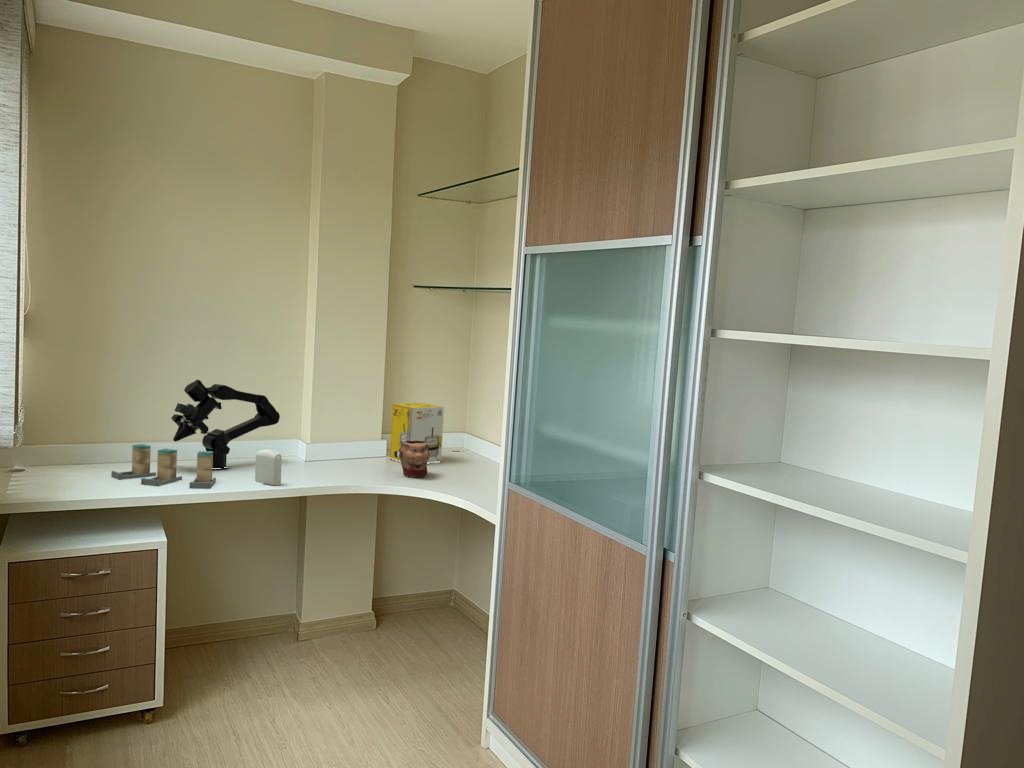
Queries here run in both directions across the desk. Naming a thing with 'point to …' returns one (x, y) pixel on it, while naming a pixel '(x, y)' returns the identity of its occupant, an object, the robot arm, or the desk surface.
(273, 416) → the robot arm
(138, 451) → the oak key
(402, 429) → the packaging box
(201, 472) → the oak key
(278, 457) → the photo printer
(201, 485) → the slate track
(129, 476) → the slate track
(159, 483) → the slate track
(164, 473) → the oak key
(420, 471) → the decorative planter
